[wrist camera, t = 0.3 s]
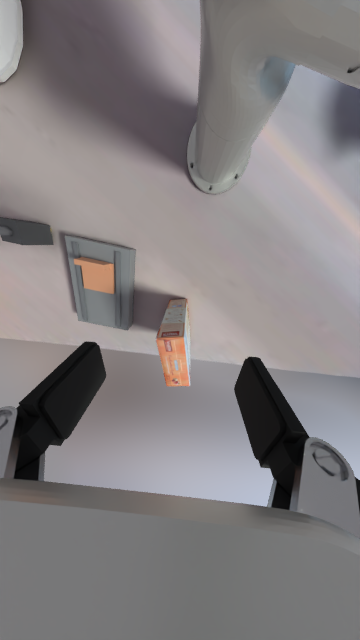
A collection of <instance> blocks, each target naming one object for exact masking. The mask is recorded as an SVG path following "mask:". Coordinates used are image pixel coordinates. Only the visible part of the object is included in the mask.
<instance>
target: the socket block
mask: <svg viewBox="0 0 360 640" xmlns="http://www.w3.org/2000/svg"><path fill="white" fill-rule="evenodd" d="M65 241H66V247H67V254H68V260H69V266H70V272H71V278H72V284H73V290H74V296H75V302H76V309H77V315H78V321H83V322H88V323H93V324H98V325H103V326H108V327H113V328H118V329H123V330H129V328H130V327H131V325H132V320H133V298H134V275H135V253H136V249H131V248H127V247H122V246H118V245H113V244H109V243H104V242H100V241H95V240H91V239H86V238H82V237H77V236H65ZM80 257H85V258H90V259H94V260H99V261H104V262H108V263H113V264H114V294H110V293H105V292H100V291H95V290H91V289H86V288H84V283H83V275H82V267H81V265H76V264H74V259H76V258H80Z"/></svg>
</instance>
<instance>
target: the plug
mask: <svg viewBox="0 0 360 640" xmlns="http://www.w3.org/2000/svg"><path fill="white" fill-rule="evenodd" d="M0 235H1V238H2V241H7V242H11V243H16V244H21V245H53V240H52V235H51V228H50V226H49V225H45V224H40V223H36V222H31V221H24V220H17V219H9V218H2V217H0Z"/></svg>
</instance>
